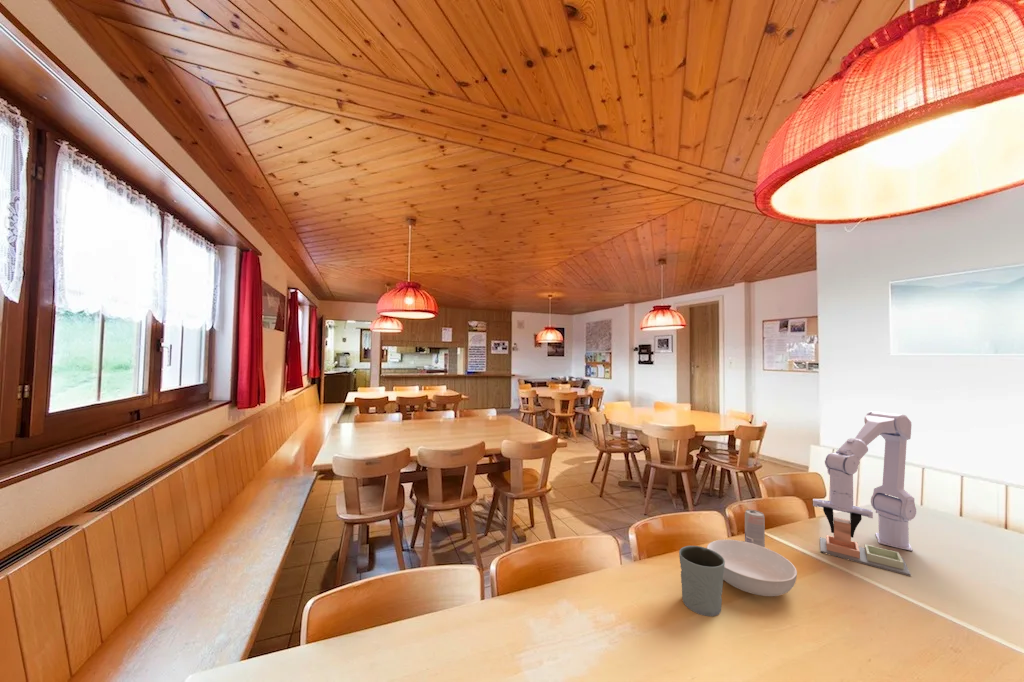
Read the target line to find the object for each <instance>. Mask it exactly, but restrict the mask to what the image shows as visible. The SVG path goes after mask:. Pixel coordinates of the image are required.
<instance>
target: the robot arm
mask: <svg viewBox="0 0 1024 682" xmlns="http://www.w3.org/2000/svg"><path fill="white" fill-rule="evenodd" d="M863 419H864V425H863V427H862V428H861V429H860V431H859V432H858V433H857V435H856V436H855V437H854V438H852V437H851V438H848V439H847V440H845V442H844V443H843V444H842V445H841V446H840V447H839V448H838V449H837V450H836V451H835V452H830V453H828V454H827V455H826V457H825V460H824V465H825V467H826V469H827V474H828V475H829V500H826V499H825V500H823V499H817V498H813V499H812V506H813V507H816V508H818V507H819V508H823V509H822V510H823V513H824V515H825V516H826V519H827V522H828V524H829V527H830V532H831V533H832V534H834V519H833V517H834V511H839V512H843V513H848V514H849V517H850V518H849V519H850V524H851V539H852V538H854V536H855V533H856V529H857V527H858V525H859V524H860V523H861V521H862V519H863V517H867V518H869V519H874V517H873V516H874V513H873V510H872V509H867V508H862V507H861V506H856V505H854V474H855V473H857V471H858V469H859V465H860V461H861V460H862V458H864V456H865V455H866V454H867V453H868V452H869V447H868V446H869V445H870V444H871V443H872V442H873V441H874V440H875V439H877V438H878V437H879V436H880V437H882V438H883V439H884V440H885V441H884V454H883V455H884V457H883V458H884V459H883V472H882V485H879V486H876V487H874V488H873V492H872V495H871V496H870V497H871V498H870V504H871V506H872V508H873V509H874V510H875V513H876V514H877V515H878V517H877V518H878V532H875V536H876V540H877V543H878V544H880V545H885V546H889V547H893V548H897V549H901V550H905V551H906V550H907V551H911V552H913V550H914V549H913V548H912V546H911V544H910V541H909V540H910V535H909V534H910V533H909V521H910V522H911V521H912V520H914V519H915V518H916V516H917V507H916V502H915V497H914V496H912V495H911V494H910V493H908V492H907V491H906V490H905V474H906V459H907V458H906V457H907V456H906V455H907V445H908V444H907V441H909V440H911V435H912V421H911V420H910V419H909V417H908V416H907V415H905V414H901V413H900V414H898V413H890V412H881V411H875V410H870V411H868V412H867V413H866V415H865V416H864V418H863ZM862 516H863V517H862Z"/></svg>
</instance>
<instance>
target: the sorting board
mask: <svg viewBox="0 0 1024 682" xmlns="http://www.w3.org/2000/svg"><path fill="white" fill-rule="evenodd" d="M825 537H826V538H824V537H819V544H820V545H819V547H820V553H821V552H823V553H822V554H824V553H827V554H826V555H828V554H830V555H829V556H832V555H834V556H833V557H836V556H838V557H837V558H840V557H841V559H843V558H845V559H844V560H847V559H849V560H848V561H851V560H852V562H856V563H859V564H863V565H867V566H871V567H874V568H878V569H880V570H881V569H882V570H886V571H890V572H892V573H897V574H900V575H901V574H902V575H904V576H908V577H911V575H912V574H911V572H910V570H909V567H908V565H907V563H906V561H905V559H904V557H903V556H901V554H900V552H899V551H895V550H891V549H886V548H884V547H883V548H882V547H878V546H875V545H870V544H864V547H863V546H859V544H858V542H857V541H853V540H851V544H850V543H846V542H842V541H838V540H834V535H833V536H832V535H828V534H826V535H825Z"/></svg>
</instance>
